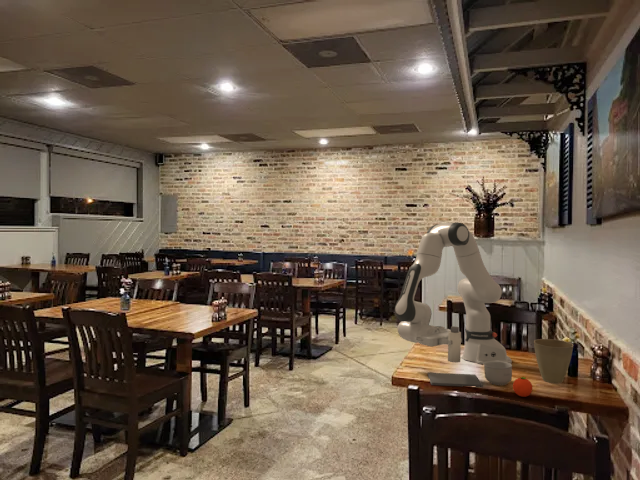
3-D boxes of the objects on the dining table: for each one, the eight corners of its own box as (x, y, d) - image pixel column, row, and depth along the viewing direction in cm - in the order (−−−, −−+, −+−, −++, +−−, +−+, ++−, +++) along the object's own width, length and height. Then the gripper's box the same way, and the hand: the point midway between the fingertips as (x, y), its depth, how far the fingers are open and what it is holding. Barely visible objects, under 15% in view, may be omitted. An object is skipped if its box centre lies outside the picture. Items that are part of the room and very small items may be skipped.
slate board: (475, 376, 208) (475, 374, 208) (482, 387, 195) (482, 384, 194) (427, 374, 211) (427, 372, 211) (431, 385, 197) (431, 382, 197)
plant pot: (526, 375, 211) (527, 338, 211) (559, 375, 212) (560, 338, 212) (544, 386, 196) (545, 347, 196) (580, 386, 197) (581, 347, 197)
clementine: (515, 391, 190) (516, 373, 190) (534, 394, 186) (535, 376, 186) (510, 396, 184) (510, 378, 184) (530, 400, 180) (530, 381, 180)
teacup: (508, 389, 193) (509, 369, 193) (480, 384, 199) (481, 364, 198) (515, 380, 205) (515, 361, 204) (488, 375, 210) (489, 357, 210)
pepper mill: (459, 359, 205) (460, 326, 204) (461, 362, 200) (462, 328, 199) (446, 359, 205) (447, 325, 205) (448, 362, 200) (449, 328, 200)
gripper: (413, 331, 206) (440, 337, 195) (444, 325, 219) (470, 331, 208) (413, 346, 206) (440, 353, 195) (443, 339, 219) (470, 346, 208)
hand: (456, 341), depth 202 cm, fingers closed on pepper mill, 5 cm apart
